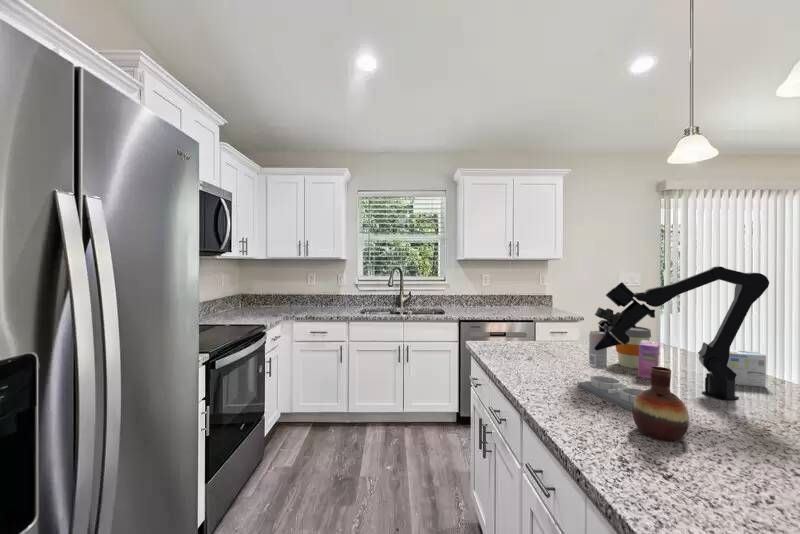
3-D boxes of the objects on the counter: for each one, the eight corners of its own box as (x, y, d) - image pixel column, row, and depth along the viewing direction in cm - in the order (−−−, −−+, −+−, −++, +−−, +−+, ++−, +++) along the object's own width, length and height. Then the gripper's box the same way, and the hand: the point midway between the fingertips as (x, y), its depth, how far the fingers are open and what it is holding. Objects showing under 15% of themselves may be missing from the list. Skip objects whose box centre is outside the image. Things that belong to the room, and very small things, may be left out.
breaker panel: (671, 408, 106) (671, 397, 106) (631, 411, 104) (631, 399, 104) (612, 384, 128) (612, 374, 128) (577, 385, 125) (578, 376, 125)
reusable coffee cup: (606, 363, 156) (607, 326, 156) (627, 360, 161) (627, 324, 161) (637, 371, 144) (638, 331, 144) (657, 367, 150) (658, 329, 150)
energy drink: (602, 365, 134) (602, 331, 133) (609, 369, 128) (609, 333, 128) (586, 364, 134) (586, 330, 134) (592, 369, 129) (593, 333, 129)
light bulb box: (754, 381, 133) (754, 350, 133) (766, 387, 127) (767, 355, 127) (717, 378, 136) (718, 348, 136) (728, 384, 130) (729, 352, 130)
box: (657, 380, 133) (657, 346, 133) (637, 377, 137) (638, 344, 137) (659, 373, 141) (659, 341, 141) (640, 370, 145) (641, 339, 145)
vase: (635, 420, 98) (636, 360, 98) (689, 432, 91) (691, 368, 91) (628, 434, 89) (629, 369, 89) (687, 449, 82) (689, 378, 82)
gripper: (604, 297, 139) (571, 326, 142) (618, 302, 121) (580, 334, 124) (628, 320, 137) (594, 348, 140) (646, 328, 119) (607, 360, 122)
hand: (593, 347), depth 131 cm, fingers closed on energy drink, 5 cm apart
